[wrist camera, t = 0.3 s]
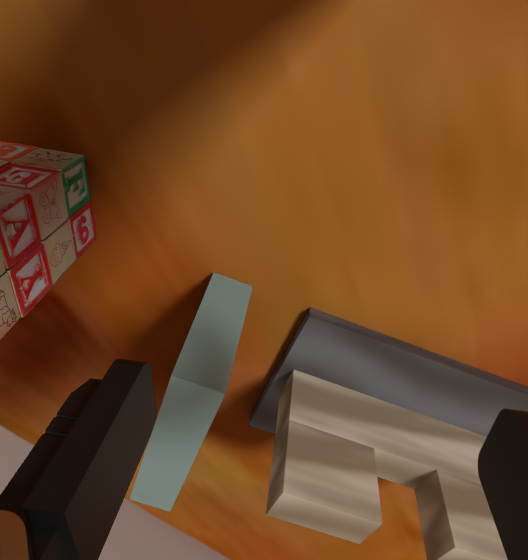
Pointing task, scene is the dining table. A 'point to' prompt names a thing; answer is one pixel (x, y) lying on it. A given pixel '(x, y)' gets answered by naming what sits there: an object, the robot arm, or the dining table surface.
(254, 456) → the dining table surface
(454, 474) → the stand
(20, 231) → the stack of blocks
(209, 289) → the sage crossbar
